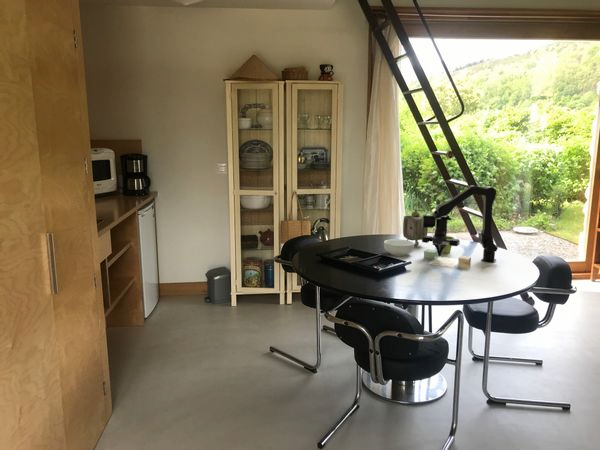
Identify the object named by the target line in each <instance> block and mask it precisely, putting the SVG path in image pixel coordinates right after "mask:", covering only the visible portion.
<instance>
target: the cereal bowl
mask: <svg viewBox="0 0 600 450" xmlns="http://www.w3.org/2000/svg"><path fill="white" fill-rule="evenodd" d="M414 244H415V242H414V241H412V240H408V241H407V239H398V238H397V239H395V238H394V239H386V240H384V242H383V248H384V250H385V251H386V252H388V253H389V254H390V255H391V256H395V257H397V256H398V257H403V256H406V255H408V254H410V253H412V252H413V250H414V248H415V246H414Z"/></svg>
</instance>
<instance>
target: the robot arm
mask: <svg viewBox="0 0 600 450" xmlns="http://www.w3.org/2000/svg"><path fill="white" fill-rule="evenodd" d="M474 194H475V195H481V198H482V202H483V213H482V229H481V232H478V233H477V234H478V238H477V241H478V242H479V245H481V247H482V248H483V253H482V254H483V255H482V258H481V259H480V261H481V262H486V263H487V262H488V263H495V262H496V261H497V259H496V258H495V257H496V255H495V254H496V252H497V251H498V249H499V247H498V246H497V245H496V244H495V243H494V235H493V231H492V220H493V208H494V207H493V205H494V202H495V201H496V197H497V190H496V188H494V187H492V186H489V185H486V186H475V185H469V186H468V187H467V188H465V189H464V190H462V191H461V192H460V193H458V194H456V195H455V196H454V197H452V198H451V199H449V200H446V201H444V202H442V203H439V204H438V205H437V206H436V207H435V210H434V212H433V213H432V214H430V215H428V214H423V215H422V220H421V225H422V228H428V229H432V228H434V227H435V231H434V234H433V236H432V235H431V236H430V235H427V236H424V237H423V238H422V240H421V242H422V243H426V244H428V243H429V242H432V245H433V246H434V247H435V250H437V252H438V256H439V257H442V254H443V253H442V252H443V250H444V248H445V246H447V245H448V243H449V244H450V245H451V247H458V246H459V245H460V239H458V238H454V239H451V240H447V237H446V236H448V234H447V232H448V221H452V218H451V217H450V216H449V214H450V213H451V212H453V210H454V208H455V207H457V206H458V205H460V204H461V203H463V202H464V201H466V199H468V198H470V197H471V196H472V195H474Z"/></svg>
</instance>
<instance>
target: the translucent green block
mask: <svg viewBox="0 0 600 450" xmlns="http://www.w3.org/2000/svg"><path fill="white" fill-rule="evenodd" d="M437 258H438V252H437V249H430V248H426V249H425V250H423V259H425V260H430V261H432V260H436V259H437Z"/></svg>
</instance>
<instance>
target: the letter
mask: <svg viewBox="0 0 600 450" xmlns="http://www.w3.org/2000/svg"><path fill="white" fill-rule="evenodd" d="M458 260H459V258H453V257H445V256H440V257H439V256H438V258H437V259H436V260H430V261H429V262H428V265H433V266H443V267H449V268H454V267H455V266H456V265H458Z"/></svg>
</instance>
